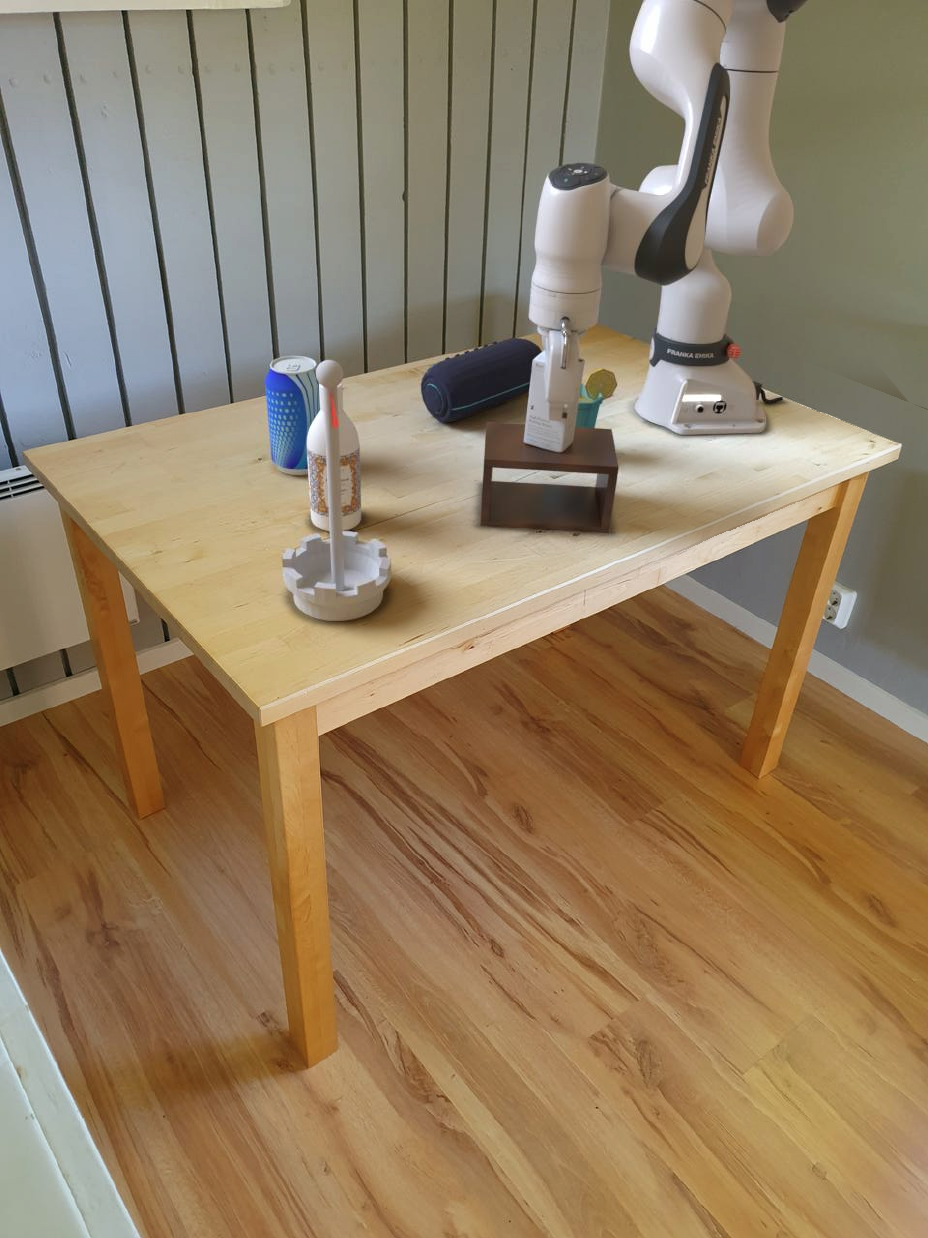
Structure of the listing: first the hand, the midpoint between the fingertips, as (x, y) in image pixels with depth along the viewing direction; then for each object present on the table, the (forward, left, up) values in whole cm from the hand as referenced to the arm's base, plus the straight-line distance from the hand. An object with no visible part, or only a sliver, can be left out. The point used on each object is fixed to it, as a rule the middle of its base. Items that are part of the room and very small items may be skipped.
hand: (553, 408), depth 130 cm
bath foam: (+29, +7, -16) cm, 34 cm away
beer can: (+37, -9, -16) cm, 41 cm away
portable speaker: (+10, -35, -16) cm, 40 cm away
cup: (-4, -17, -16) cm, 23 cm away
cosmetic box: (0, 0, -5) cm, 5 cm away
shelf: (0, 0, -15) cm, 15 cm away
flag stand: (+26, +25, -16) cm, 39 cm away
